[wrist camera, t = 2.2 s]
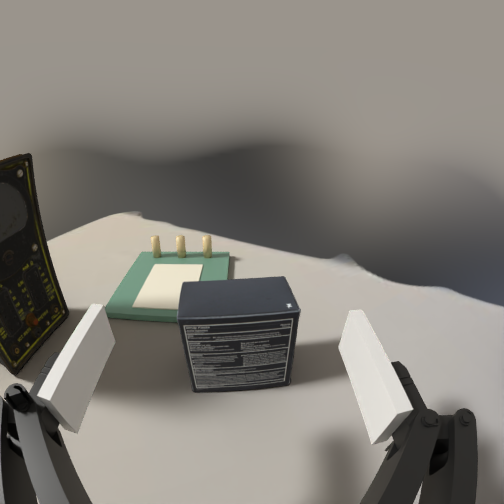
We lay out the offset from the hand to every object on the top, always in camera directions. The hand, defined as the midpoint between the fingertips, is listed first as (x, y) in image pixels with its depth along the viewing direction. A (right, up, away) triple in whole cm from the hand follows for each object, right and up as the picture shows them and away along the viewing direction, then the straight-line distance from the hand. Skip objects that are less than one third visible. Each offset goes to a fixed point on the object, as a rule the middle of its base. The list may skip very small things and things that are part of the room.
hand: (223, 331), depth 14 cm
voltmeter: (-31, -9, +15) cm, 36 cm away
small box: (0, -9, +15) cm, 18 cm away
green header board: (-12, -1, +31) cm, 33 cm away
